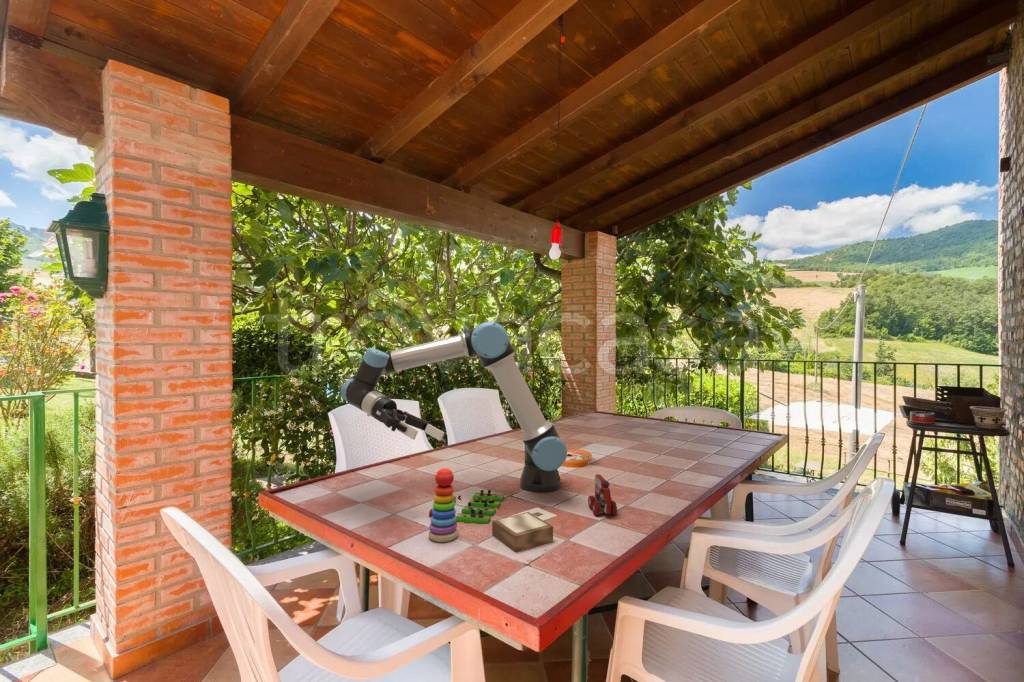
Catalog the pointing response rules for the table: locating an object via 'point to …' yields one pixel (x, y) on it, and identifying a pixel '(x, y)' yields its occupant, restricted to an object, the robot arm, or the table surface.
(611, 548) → the table surface
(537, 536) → the pedestal
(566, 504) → the table surface
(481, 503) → the toy garden set
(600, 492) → the toy fire truck
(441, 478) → the stacking toy
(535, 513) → the page
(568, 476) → the table surface
